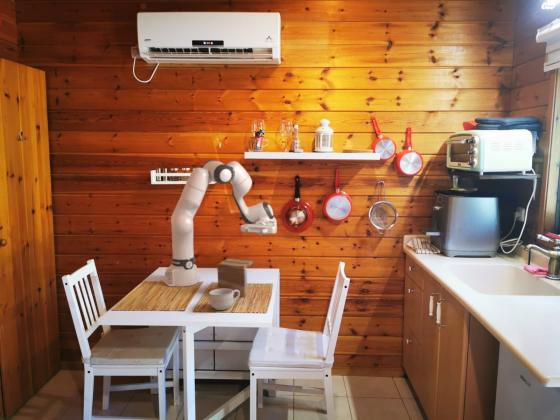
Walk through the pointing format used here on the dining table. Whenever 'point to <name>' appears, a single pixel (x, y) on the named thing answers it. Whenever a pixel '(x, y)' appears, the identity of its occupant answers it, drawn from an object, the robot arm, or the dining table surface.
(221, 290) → the teacup
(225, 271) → the dark brown box
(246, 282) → the case
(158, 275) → the dining table surface
